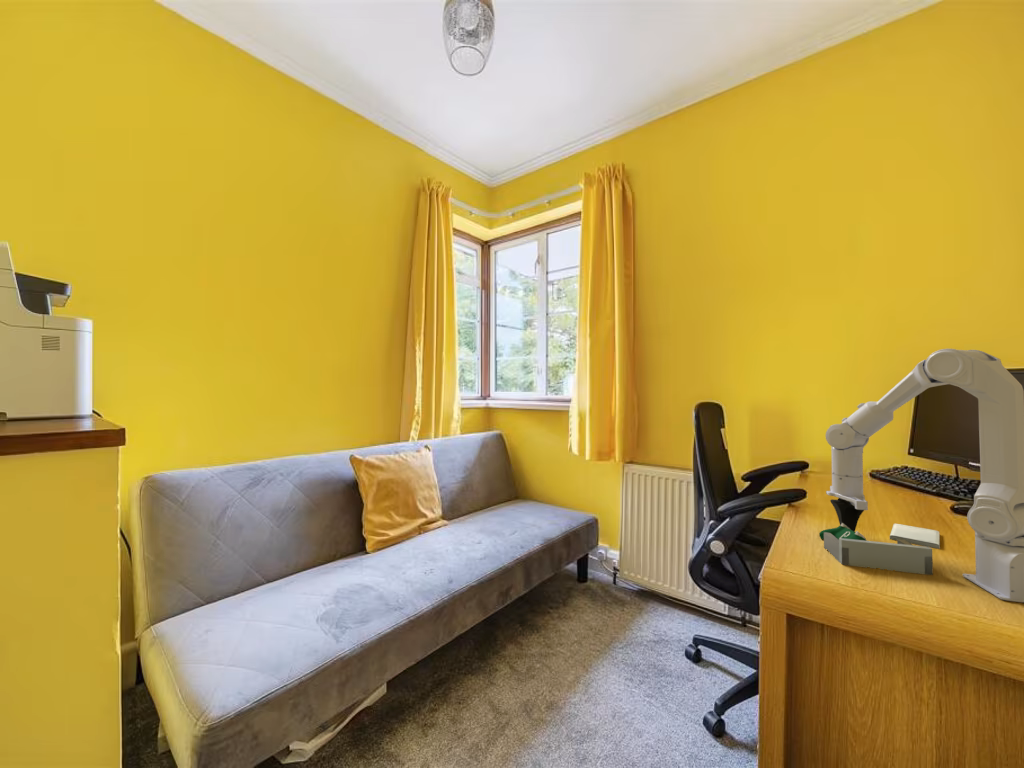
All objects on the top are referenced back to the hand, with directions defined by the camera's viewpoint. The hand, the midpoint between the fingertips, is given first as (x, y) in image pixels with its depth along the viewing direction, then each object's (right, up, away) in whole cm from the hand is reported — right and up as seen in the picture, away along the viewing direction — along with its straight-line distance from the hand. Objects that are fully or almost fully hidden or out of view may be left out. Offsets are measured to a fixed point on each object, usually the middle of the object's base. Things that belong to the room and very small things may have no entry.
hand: (847, 531), depth 95 cm
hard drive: (+18, -3, +2) cm, 18 cm away
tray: (-4, -2, -11) cm, 12 cm away
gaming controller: (-4, -2, -4) cm, 6 cm away
